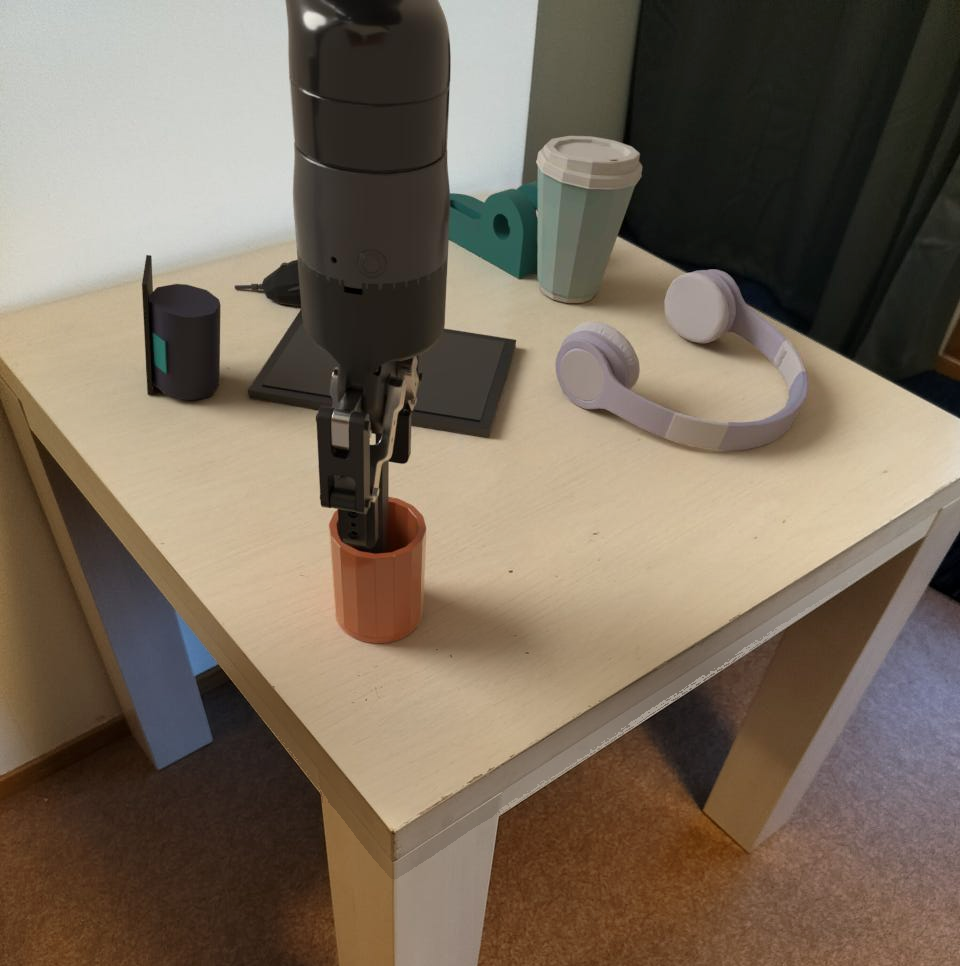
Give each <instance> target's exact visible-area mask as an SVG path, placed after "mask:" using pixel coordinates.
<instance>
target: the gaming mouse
mask: <svg viewBox="0 0 960 966" xmlns="http://www.w3.org/2000/svg"><path fill="white" fill-rule="evenodd" d="M234 289H235V290H252V291H259V290H260V291H262V292H263V293H264V295H265V298H266V299H268V300H270V301H273V302H274V303H278V304H280V305H285V306H286V305H287V306H295V307H301V296H300V284H299V271H298V259H295V260H291V261H290V262H286V261H285V262H282V263H281V264H280V265H279V267H277V269H275V270H273V271H272V272H271V273H269V275H267V276H266V277H264V278H263V280H262V282H261V283H251V284H235V285H234Z"/></svg>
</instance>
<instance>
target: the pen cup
mask: <svg viewBox="0 0 960 966" xmlns="http://www.w3.org/2000/svg"><path fill="white" fill-rule="evenodd" d="M424 517H425V516H424V515H423V514H422V513H421V512H420V511H419V510H418V509H417V508H416V507H415V505H413V504H411V503H408V502H406V501H405V500H403V499H400V498H397V497H392V496H388V553H379V554H374V553H368V552H362V551H359V546H353V545H347V544H345V543H343V542H342V541H341V540H340V538H339V522H338V509H335V511H334V512H333V514H332V517H331V519H330V521H329V523H328V532H329V535H328V536H329V546H330V559H331V560H330V561H331V563H330V564H331V574H332V575H331V576H332V590H333V592H332V593H333V605H334V612H335V613H334V614H335V618H336V621H337V624H338V625H339V628H341V629H342V631H344V633H346V634H347V635H349V636H350V637H352V638H353V639H356V640H358V641H361V642H365V643H369V644H388V643H394V642H396V641H400V640H403V639H404V638H406V637H408V636H409V635H411V634H412V633H413V632H414V631H415V630H416V629H417V628H418V627H419V625H420V623H421V621H422V619H423V616H424V615H423V613H424V607H425V606H424V605H425V582H426V581H425V580H426V553H427V551H426V550H427V549H426V548H427V525H426V521H425V518H424Z"/></svg>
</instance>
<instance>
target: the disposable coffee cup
mask: <svg viewBox="0 0 960 966" xmlns="http://www.w3.org/2000/svg"><path fill="white" fill-rule="evenodd" d="M640 156H641V153H640V152H639V151H638V150H637V149H635V148H634V147H633V146H631V145H629V144H626V143H624V142H620V141H617V140H614V139H608V138H603V137H597V136H591V135H590V136H589V135H565V136H559V137H554V138H551V139H550V140H548V141H547V143H546V144H545V145H544V146H543V147H542V148H541V149H540V150H539V151H538V152H537V157H536V161H535V163H536V165H537V181H538V212H537V218H538V272H537V281H538V285H539V289H540V291H541V293H542V294H543V295H545V296H546V297H548V298H549V299H551V300H553V301H554V300H555V301H557V302H560V303H565V304H583V303H586V302H588V301H592V300H593V298H594V296H595V295H596V293H597V292H598V290H599V289H600V286H601V284H602V280H603V278H604V275H605V273H606V269H607V266H608V264H609V261H610V258H611V256H612V252H613V251H614V250H613V249H614V246H615V244H616V241H617V238H618V235H619V233H620V231H621V230H620V229H621V226H622V224H623V221H624V219H625V216H626V213H627V209H628V207H629V204H630V202H631V199H632V196H633V192H634V190H635V188H636V186H637V184H638V183H639V181H640V179H641V178H642V177H643V175H642V172H643V165H642V163H641V162H640Z"/></svg>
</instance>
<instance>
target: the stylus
mask: <svg viewBox="0 0 960 966" xmlns="http://www.w3.org/2000/svg"><path fill="white" fill-rule="evenodd" d="M389 464H390V462H389V460H387V461H385V462H383V463H382V466H381V473H380V480H379V487H378V488H379V495H378V539H377V541H376V544H375V546H374V547H373V548H364V547H359V551H362V552H368V553H374V554H379V553H388V497H389V492H390V491H389V486H390V485H389V483H390V482H389V479H390V478H389V477H390V476H389V473H390V472H389V470H390V469H389V466H390V465H389Z"/></svg>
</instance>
